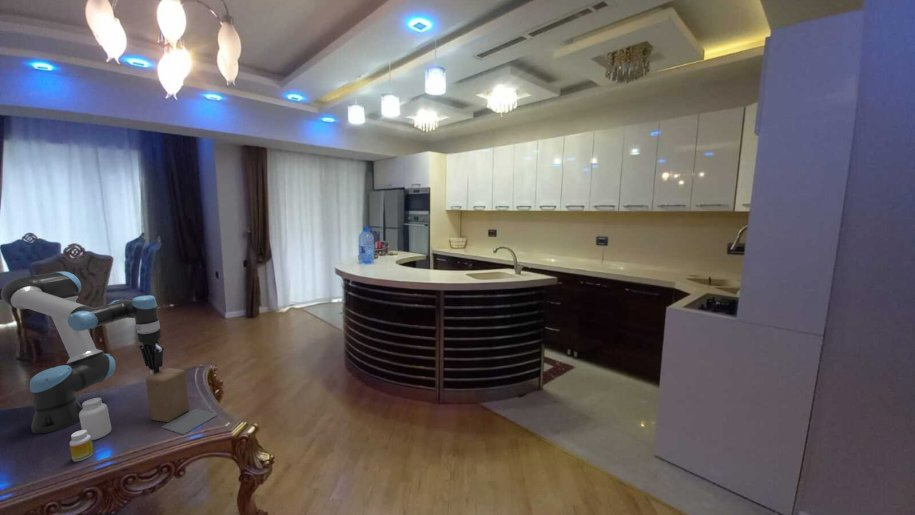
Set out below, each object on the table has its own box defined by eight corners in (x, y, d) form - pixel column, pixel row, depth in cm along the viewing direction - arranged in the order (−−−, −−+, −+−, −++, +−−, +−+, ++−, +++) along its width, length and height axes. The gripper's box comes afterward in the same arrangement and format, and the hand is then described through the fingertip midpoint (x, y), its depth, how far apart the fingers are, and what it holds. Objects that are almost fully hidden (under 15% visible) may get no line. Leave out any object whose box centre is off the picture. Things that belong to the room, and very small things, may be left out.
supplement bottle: (93, 456, 129) (89, 432, 127) (72, 464, 125) (67, 439, 123) (93, 449, 132) (89, 426, 131) (72, 456, 129) (68, 433, 127)
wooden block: (168, 423, 148) (163, 380, 145) (149, 420, 150) (144, 377, 147) (190, 410, 158) (186, 369, 155) (172, 407, 160) (167, 366, 157)
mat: (161, 427, 145) (161, 426, 145) (196, 409, 158) (196, 408, 158) (183, 435, 141) (183, 434, 141) (217, 415, 154) (217, 414, 154)
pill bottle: (91, 431, 143) (85, 397, 141) (115, 426, 146) (110, 394, 144) (78, 443, 136) (71, 408, 133) (104, 438, 139) (98, 404, 136)
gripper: (129, 332, 149) (137, 383, 153) (148, 336, 145) (156, 388, 149) (149, 326, 156) (156, 375, 160) (168, 330, 152) (175, 380, 156)
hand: (156, 381), depth 154 cm, fingers closed
